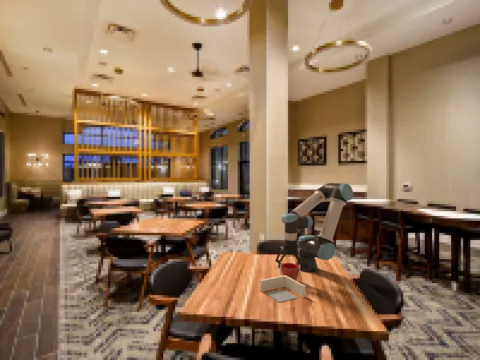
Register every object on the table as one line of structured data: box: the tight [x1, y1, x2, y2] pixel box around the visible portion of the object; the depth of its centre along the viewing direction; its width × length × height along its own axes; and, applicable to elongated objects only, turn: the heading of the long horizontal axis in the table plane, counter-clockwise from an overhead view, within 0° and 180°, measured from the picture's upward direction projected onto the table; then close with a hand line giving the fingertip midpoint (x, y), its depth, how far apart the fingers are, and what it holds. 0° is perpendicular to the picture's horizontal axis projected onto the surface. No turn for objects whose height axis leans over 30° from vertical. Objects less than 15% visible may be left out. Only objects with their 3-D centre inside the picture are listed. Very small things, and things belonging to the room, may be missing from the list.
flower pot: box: [281, 262, 299, 282], centre depth 162 cm, size 11×11×10 cm
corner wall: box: [259, 275, 306, 298], centre depth 144 cm, size 18×18×6 cm
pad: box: [265, 288, 298, 303], centre depth 141 cm, size 12×12×1 cm
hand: (290, 274), depth 162 cm, fingers closed on flower pot, 11 cm apart
